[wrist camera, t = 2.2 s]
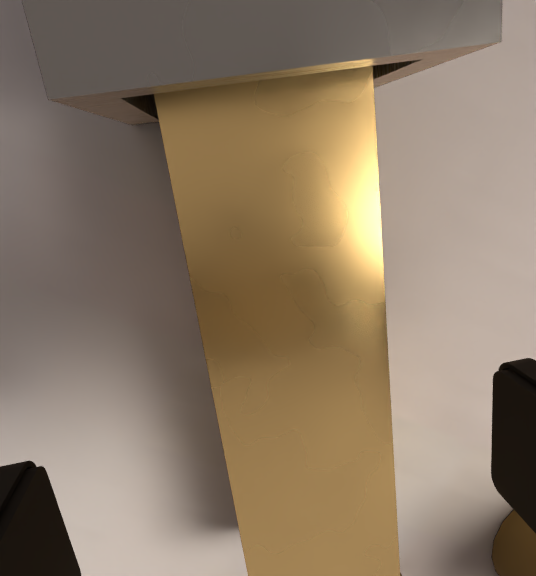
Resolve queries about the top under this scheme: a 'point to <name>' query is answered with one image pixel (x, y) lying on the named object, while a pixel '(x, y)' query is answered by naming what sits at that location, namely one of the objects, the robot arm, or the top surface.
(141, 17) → the steel sleeve
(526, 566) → the cork
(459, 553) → the top surface
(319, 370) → the long gold plank
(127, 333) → the top surface
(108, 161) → the top surface
